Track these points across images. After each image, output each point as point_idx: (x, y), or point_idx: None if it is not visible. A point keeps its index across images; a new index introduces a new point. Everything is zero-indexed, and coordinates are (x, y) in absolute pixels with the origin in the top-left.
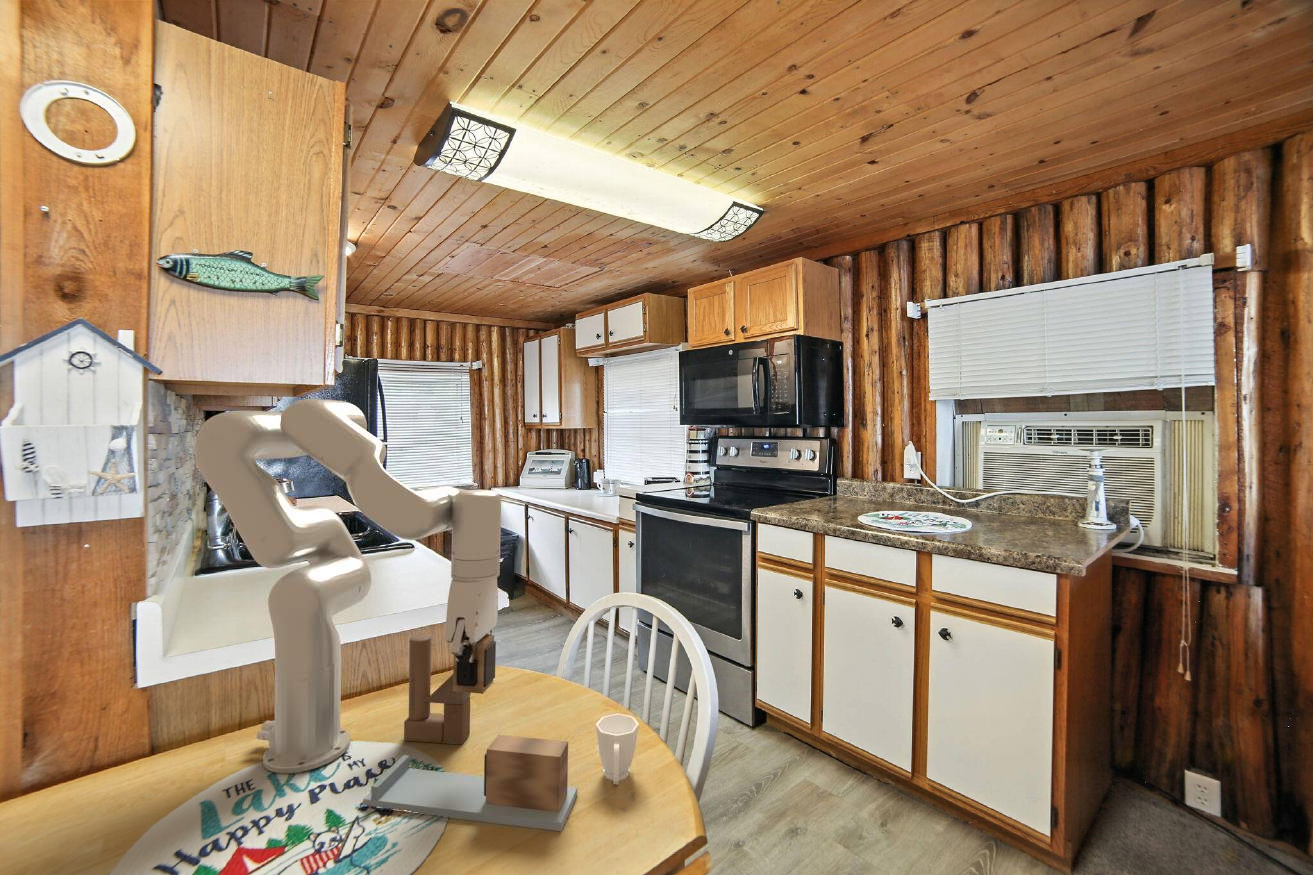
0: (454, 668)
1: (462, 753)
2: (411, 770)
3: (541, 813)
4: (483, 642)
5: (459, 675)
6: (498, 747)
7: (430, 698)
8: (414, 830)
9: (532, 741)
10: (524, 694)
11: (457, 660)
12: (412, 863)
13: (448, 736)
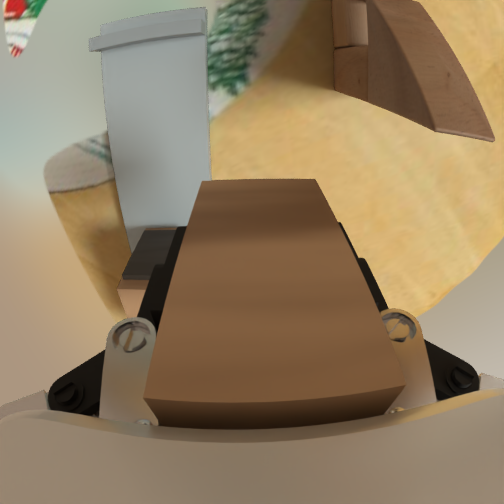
0: (186, 241)
1: (304, 103)
2: (197, 44)
3: None
4: None
5: (149, 279)
6: (131, 304)
7: (370, 5)
8: (84, 143)
9: None
10: (498, 162)
11: (117, 334)
12: (45, 181)
13: (337, 61)
